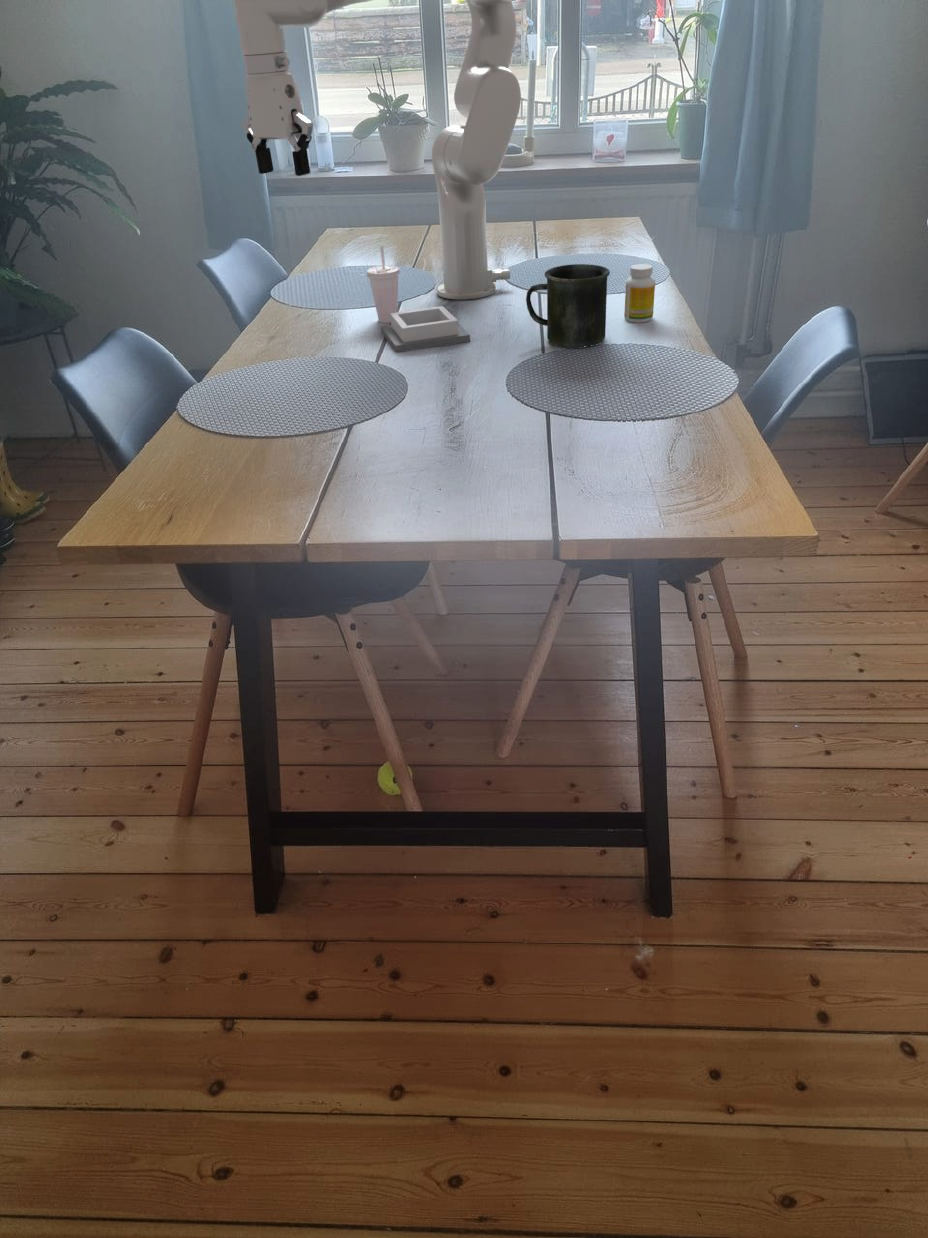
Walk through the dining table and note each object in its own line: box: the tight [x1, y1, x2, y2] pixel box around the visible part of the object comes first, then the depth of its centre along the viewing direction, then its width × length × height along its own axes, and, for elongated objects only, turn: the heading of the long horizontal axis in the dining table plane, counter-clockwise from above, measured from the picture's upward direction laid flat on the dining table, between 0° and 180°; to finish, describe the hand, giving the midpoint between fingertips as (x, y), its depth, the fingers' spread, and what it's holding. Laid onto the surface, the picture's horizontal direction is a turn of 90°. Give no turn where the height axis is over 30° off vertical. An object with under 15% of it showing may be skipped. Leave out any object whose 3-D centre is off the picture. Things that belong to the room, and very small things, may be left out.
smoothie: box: [366, 244, 401, 324], centre depth 176 cm, size 6×6×14 cm
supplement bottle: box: [623, 263, 656, 324], centre depth 169 cm, size 5×5×10 cm
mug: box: [525, 263, 611, 349], centre depth 160 cm, size 11×15×12 cm
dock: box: [380, 305, 471, 353], centre depth 169 cm, size 14×13×4 cm
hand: (284, 173), depth 168 cm, fingers open, 9 cm apart
